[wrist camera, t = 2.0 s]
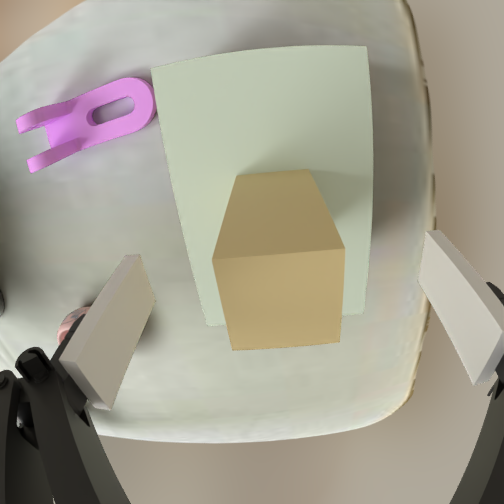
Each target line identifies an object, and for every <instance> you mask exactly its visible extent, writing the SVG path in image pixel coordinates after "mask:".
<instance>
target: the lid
mask: <svg viewBox="0 0 504 504" xmlns="http://www.w3.org/2000/svg"><path fill="white" fill-rule="evenodd" d="M150 69H151V75H152V82H153V88H154V94H155V100H156V106H157V112H158V117H159V123H160V128H161V134H162V139H163V144H164V149H165V154H166V159H167V164H168V169H169V174H170V179H171V183H172V188H173V193H174V197H175V202H176V206H177V210H178V215H179V219H180V223H181V228H182V232H183V236H184V240H185V244H186V248H187V252H188V256H189V260H190V264H191V268H192V272H193V276H194V280H195V283H196V287H197V291H198V295H199V298H200V302H201V306H202V309H203V313H204V316H205V320H206V323H207V326H220V325H226V326H227V330H228V334H229V338H230V342H231V346H232V350H253V349H270V348H284V347H297V346H308V345H319V344H328V343H337V342H340V331H341V319H342V316H348V315H356V314H364V306H365V297H366V289H367V279H368V269H369V257H370V244H371V228H372V206H373V122H372V102H371V86H370V74H369V63H368V53H367V46H350V45H310V46H288V47H274V48H263V49H253V50H244V51H237V52H229V53H223V54H216V55H210V56H205V57H199V58H194V59H189V60H184V61H180V62H175V63H171V64H166V65H162V66H158V67H154V68H150Z"/></svg>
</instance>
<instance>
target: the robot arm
mask: <svg viewBox="0 0 504 504" xmlns="http://www.w3.org/2000/svg"><path fill="white" fill-rule="evenodd" d="M418 283H419V284H420V286H421V288H422V289H423V291H424V293H425V294H426V296H427V298H428V299H429V301H430V303H431V305H432V306H433V308H434V310H435V312H436V313H437V315H438V317H439V319H440V321H441V322H442V324H443V326H444V328H445V330H446V332H447V333H448V335H449V337H450V339H451V341H452V343H453V345H454V347H455V349H456V351H457V353H458V355H459V357H460V359H461V361H462V363H463V365H464V367H465V369H466V371H467V373H468V376H469V378H470V380H471V382H472V384H473V386H475V385H478V384H481V383H484V382H487V381H489V379H490V378H491V376H492V375H493V373H494V371H496V372H497V375H498V379H497V380H496V382H495V383H494V385H493V386H492V388H491V389H490V391H489V393H488V396H490V394H491V393H492V392H493V393H492V397H491V401H490V404H489V408H488V411H487V414H486V417H485V420H484V423H483V426H482V429H481V432H480V435H479V438H478V441H477V443H476V446H475V449H474V451H473V454H472V456H471V459H470V461H469V464H468V466H467V468H466V471H465V473H464V475H463V477H462V479H461V481H460V484H459V486H458V488H457V490H456V492H455V494H454V496H453V498H452V500H451V502H450V504H504V294H503V293H502V292H501V290H500V289H499V288H497V287H496V286H495V285H493V284H492V283H490V282H485V281H484V280H483V279H482V278H481V276H480V275H479V274H478V273H477V271H476V270H475V269H474V268H473V267H472V265H471V264H470V263H469V262H468V261H467V260H466V258H465V257H464V256H463V255H462V254H461V253H460V252H459V251H458V250H457V248H456V247H455V246H454V245H453V244H452V243H451V242H450V241H449V239H448V238H447V237H446V236H444V234H443V233H442V232H441V231H440V230H432V231H426V234H425V241H424V247H423V254H422V259H421V265H420V270H419V276H418ZM155 302H156V300H155V297H154V295H153V292H152V289H151V286H150V283H149V281H148V278H147V275H146V272H145V269H144V266H143V263H142V260H141V257H140V254H136V255H126V256H125V257H124V259H123V260H122V261H121V263H120V264H119V266H118V267H117V268H116V270H115V271H114V273H113V274H112V276H111V277H110V279H109V280H108V282H107V283H106V285H105V286H104V287H103V289H102V290H101V292H100V293H99V295H98V297H97V298H96V300H95V301H94V303H93V304H92V306H91V307H90V309H89V310H88V312H87V314H82V315H81V316H80V317H79V318H78V319H77V320H75V321H74V323H73V324H72V326H71V327H70V329H69V332H67V334H66V335H65V337H64V339H63V340H62V342H61V343H60V345H59V347H58V348H57V350H56V352H55V353H54V355H53V357H52V359H51V360H49V359H48V357H47V356H46V354H45V353H44V351H43V350H42V349H41V348H39V347H32V348H29V349H27V350H25V351H24V352H23V353H22V354H21V355H20V356H19V357H18V359H17V361H16V364H15V368H16V369H17V370H18V371H19V373H20V374H21V375H22V377H23V378H17V377H16V376H15V375H14V374H13V372H12V371H10V370H4V371H1V372H0V504H54V503H53V498H54V501H55V503H56V504H131V503H130V501H129V499H128V498H127V496H126V494H125V492H124V490H123V488H122V487H121V485H120V483H119V481H118V479H117V477H116V475H115V473H114V471H113V469H112V466H111V464H110V463H109V460H108V458H107V456H106V453H105V451H104V449H103V447H102V444H101V442H100V440H99V437H98V435H97V432H96V430H95V427H94V425H93V422H92V420H91V417H90V415H89V412H88V410H87V409H86V407H85V403H86V401H87V399H88V400H89V402H90V403H91V404H92V405H93V407H94V408H98V409H104V410H110V411H111V409H112V406H113V403H114V401H115V398H116V396H117V393H118V390H119V388H120V385H121V383H122V380H123V378H124V375H125V373H126V370H127V368H128V365H129V363H130V360H131V358H132V355H133V353H134V351H135V348H136V346H137V343H138V341H139V339H140V336H141V334H142V332H143V329H144V327H145V325H146V322H147V320H148V318H149V315H150V313H151V311H152V309H153V306H154V304H155ZM3 311H4V301H3V297H2V294H1V291H0V316H1V315H2V313H3ZM17 420H18V421H19V422H20V426H19V427H17Z"/></svg>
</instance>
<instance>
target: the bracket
mask: <svg viewBox="0 0 504 504" xmlns="http://www.w3.org/2000/svg"><path fill="white" fill-rule="evenodd" d="M127 96H128V97H130V98H132V99H133V101H134V105H135V106H134V110H133V111H132V112H131V113H130V114H128V115H125V116H122V117H119V118H117V119H114V120H111V121H108V122H105V123H103V124H96V123H95V122H94V121H93V118H92V114H93V111H94V110H95V109H96V108H98V107H100V106H103V105H105V104H108V103H111V102H113V101H116V100H119V99H122V98H125V97H127ZM156 109H157V106H156V100H155V94H154V89H153V88H152V86H151V85H150V84H149V83H148V82H146V81H145V80H143V79H140V78H122V79H119V80H116V81H114V82H111V83H108V84H106V85H103V86H101V87H99V88H96V89H94V90H91V91H89V92H87V93H84V94H82V95H80V96H78V97H76V98H73V99H71V100H69V101H66V102H62V103H58V104H53V105H48V106H44V107H41V108H38V109H35V110H33V111H31V112H28V113H26V114H24V115H23V116H21V117H19V118H18V119H17V120H16V124H17V128H18V132H19V134H21V133H24V132H27V131H30V130H33V129H36V128H39V127H42V126H45V128H46V132H47V136H48V139H49V143H50V147H51V149H49V150H47V151H45V152H43V153H40V154H38V155H36V156H34V157H32V158H30V159H28V160H27V164H28V167H29V170H30V173H33V172H36V171H38V170H40V169H42V168H44V167H47V166H49V165H51V164H53V163H55V162H57V161H59V160H61V159H63V158H65V157H67V156H69V155H71V154H73V153H76V152H78V151H80V150H83V149H85V148H88V147H91V146H94V145H96V144H99V143H102V142H105V141H108V140H111V139H114V138H117V137H120V136H123V135H126V134H130V133H133V132H135V131H138V130H140V129H142V128H144V127H145V126H147V125H148V124H149V123H150V121H151V120H152V119H153V117H154V115H155V112H156Z"/></svg>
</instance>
